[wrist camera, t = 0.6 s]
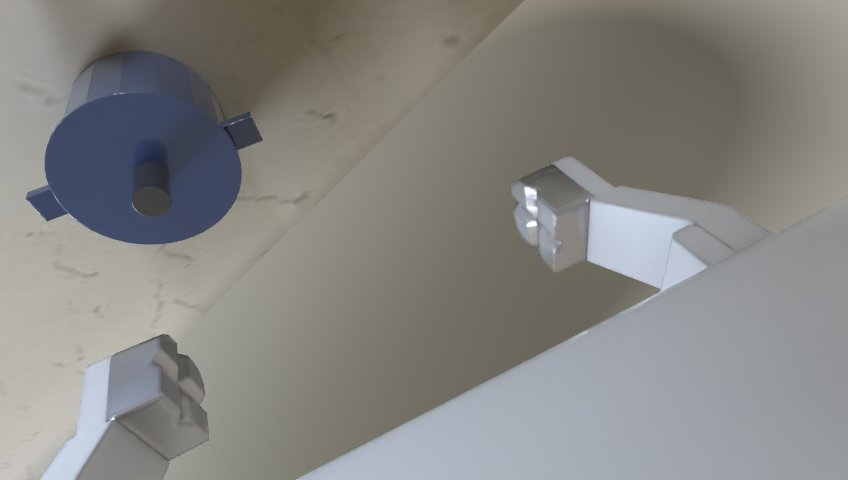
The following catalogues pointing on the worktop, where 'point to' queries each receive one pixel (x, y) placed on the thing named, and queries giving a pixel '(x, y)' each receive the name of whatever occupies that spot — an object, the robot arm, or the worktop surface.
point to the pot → (152, 76)
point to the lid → (143, 167)
